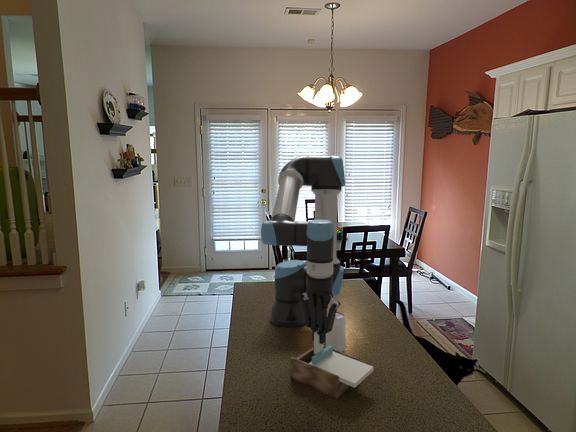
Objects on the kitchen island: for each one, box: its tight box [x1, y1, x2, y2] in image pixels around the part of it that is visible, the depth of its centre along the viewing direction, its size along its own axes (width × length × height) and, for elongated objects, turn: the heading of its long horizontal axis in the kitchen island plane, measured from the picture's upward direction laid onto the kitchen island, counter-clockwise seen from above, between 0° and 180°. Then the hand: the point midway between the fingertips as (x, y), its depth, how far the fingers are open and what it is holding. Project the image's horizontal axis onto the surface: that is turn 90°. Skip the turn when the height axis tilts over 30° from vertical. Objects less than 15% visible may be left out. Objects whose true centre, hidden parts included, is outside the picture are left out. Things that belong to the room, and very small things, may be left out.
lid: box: [309, 345, 375, 388], centre depth 110 cm, size 15×10×3 cm
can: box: [325, 311, 346, 353], centre depth 131 cm, size 6×6×12 cm
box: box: [289, 341, 360, 400], centre depth 114 cm, size 16×12×6 cm
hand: (318, 352), depth 114 cm, fingers closed
